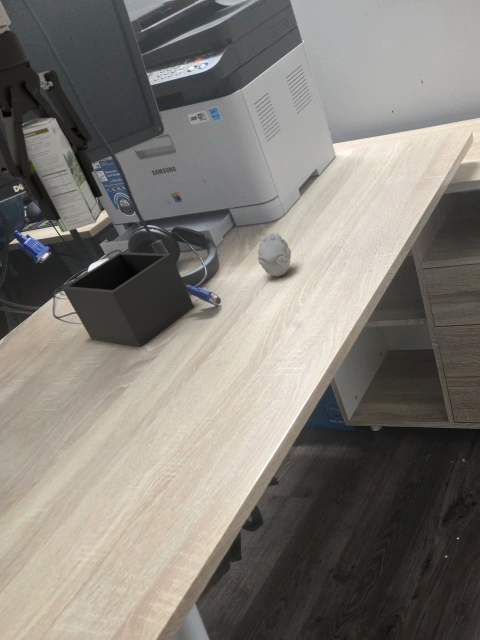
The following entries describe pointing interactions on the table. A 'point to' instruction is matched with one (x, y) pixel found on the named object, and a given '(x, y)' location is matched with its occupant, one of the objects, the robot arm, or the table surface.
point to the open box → (129, 297)
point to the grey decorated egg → (274, 255)
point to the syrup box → (60, 173)
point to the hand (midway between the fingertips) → (75, 207)
